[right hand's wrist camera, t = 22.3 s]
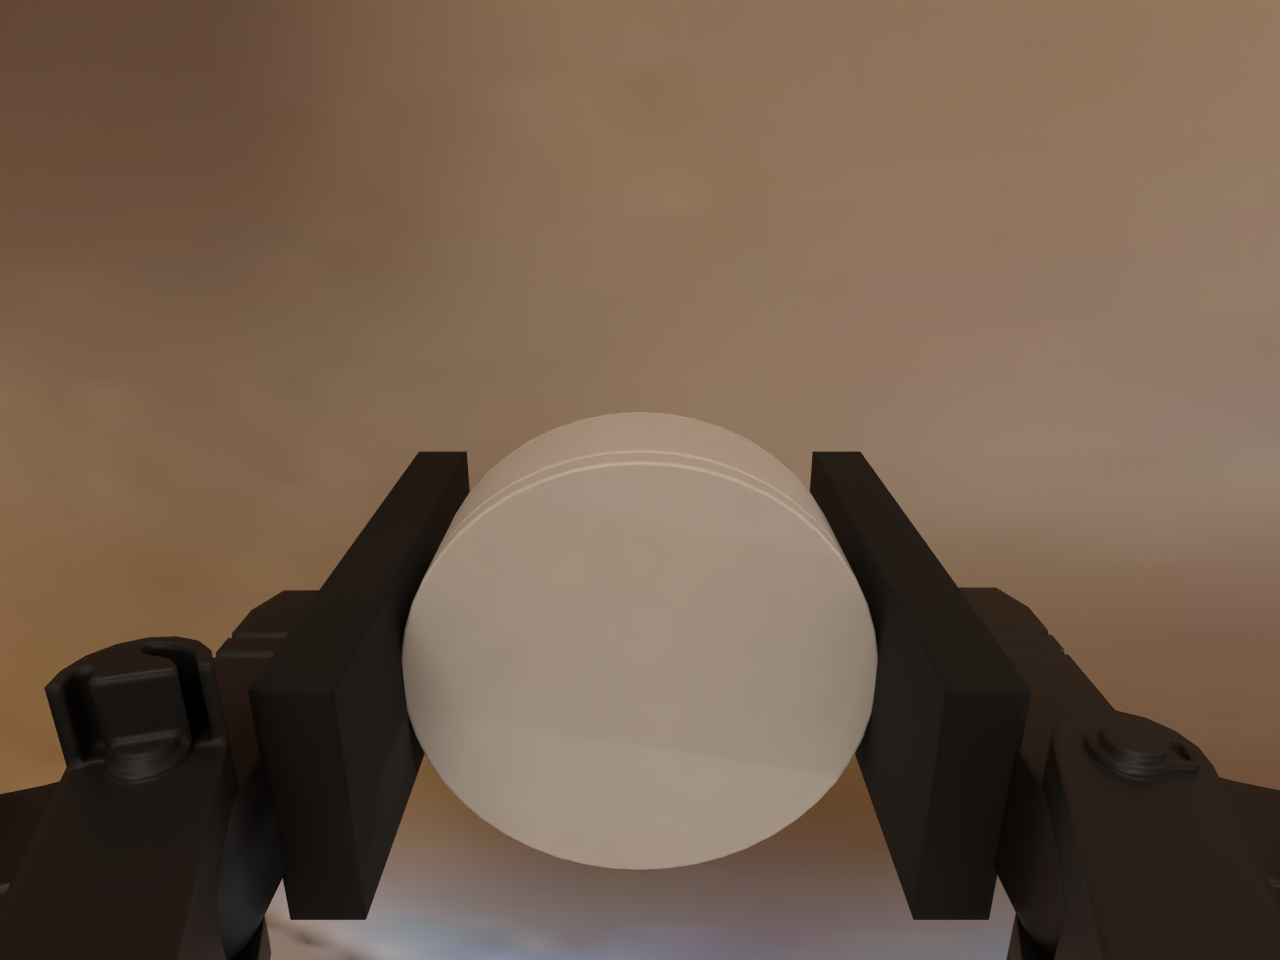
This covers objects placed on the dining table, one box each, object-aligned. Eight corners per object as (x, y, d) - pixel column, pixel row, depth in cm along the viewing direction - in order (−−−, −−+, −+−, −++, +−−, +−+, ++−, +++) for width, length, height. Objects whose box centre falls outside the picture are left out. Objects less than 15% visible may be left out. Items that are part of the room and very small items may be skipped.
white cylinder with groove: (479, 789, 13) (453, 892, 11) (395, 439, 11) (348, 495, 9) (852, 749, 13) (885, 848, 11) (832, 384, 11) (870, 430, 9)
